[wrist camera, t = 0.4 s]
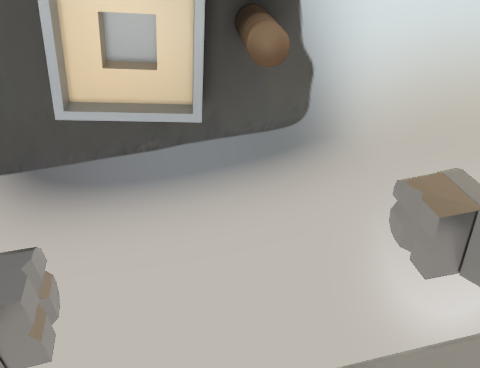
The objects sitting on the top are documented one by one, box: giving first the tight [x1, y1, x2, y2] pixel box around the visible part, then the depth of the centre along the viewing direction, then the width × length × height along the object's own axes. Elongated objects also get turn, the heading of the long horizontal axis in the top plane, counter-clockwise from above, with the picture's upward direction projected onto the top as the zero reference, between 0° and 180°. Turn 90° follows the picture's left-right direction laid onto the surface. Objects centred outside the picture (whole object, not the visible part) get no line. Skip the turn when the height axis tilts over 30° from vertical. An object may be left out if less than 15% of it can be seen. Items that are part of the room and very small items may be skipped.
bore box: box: [38, 0, 205, 122], centre depth 49 cm, size 16×16×7 cm
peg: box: [235, 4, 290, 67], centre depth 48 cm, size 4×4×12 cm
